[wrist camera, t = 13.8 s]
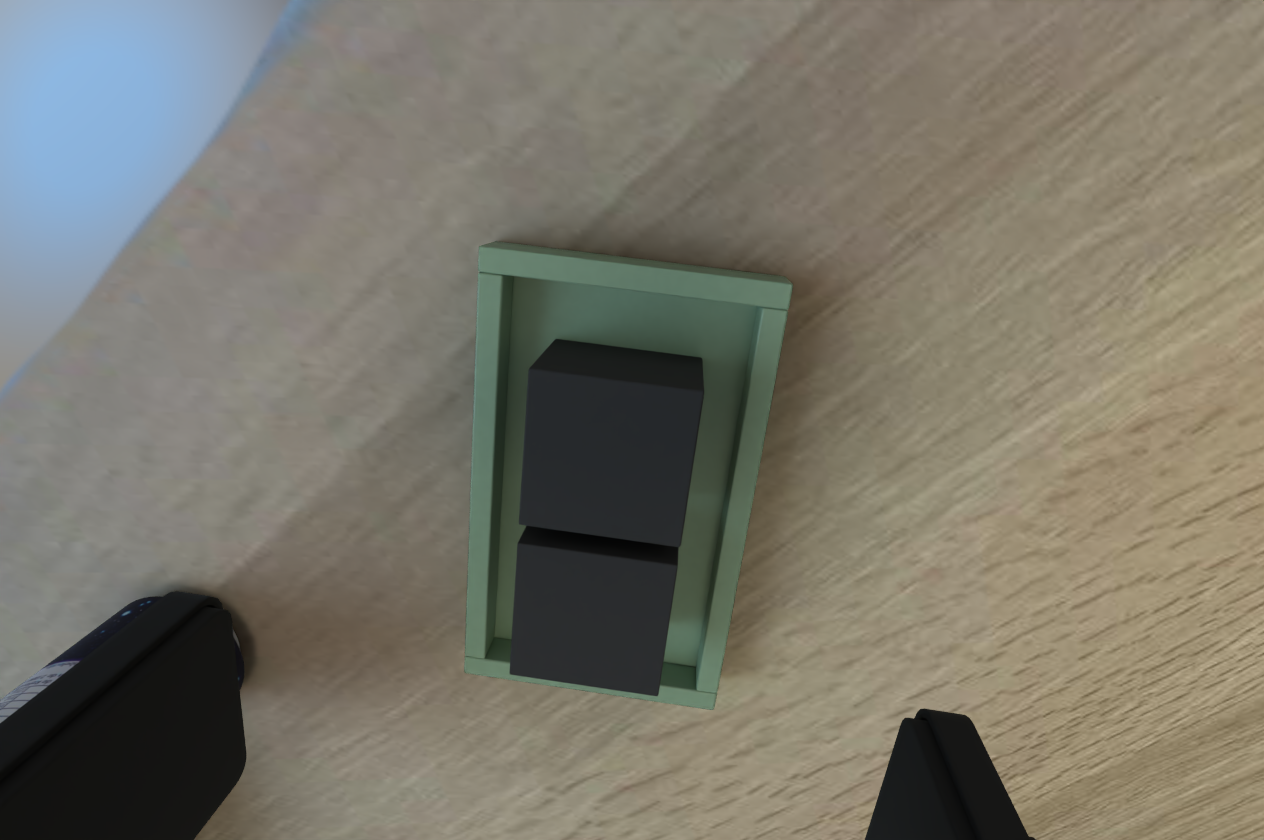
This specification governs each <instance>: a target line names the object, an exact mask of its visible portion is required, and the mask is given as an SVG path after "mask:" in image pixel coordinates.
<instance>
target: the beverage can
mask: <svg viewBox="0 0 1264 840" xmlns="http://www.w3.org/2000/svg"><path fill="white" fill-rule="evenodd" d="M160 598H162V597H147V598H142V599H139V600H136V601H134V602H132V603H130V604H128V605H127V606H126V607H124V608H123V609H122V610H120V611H119V612H118V613H116V614H115V615H113V616H112V617H111V618H109V619H108V620H107V621H105V622H104V623H103V624H101V625H100V626H99V627H97V628H96V629H95V630H93V631H92V632H91V633H89V634H88V635H87V636H85V637H84V638H83V639H81V640H80V641H79V642H77V643H76V644H75V645H73V646H72V647H71V648H69V649H68V650H67V651H65V652H64V653H63V654H61V655H60V656H59V657H57V658H56V659H55V660H53V661H52V662H51V663H49V664H48V665H47V666H45V667H44V668H42V669H41V670H40V671H38V672H37V673H36V674H34V675H33V676H32V677H30V678H29V679H28V680H26V681H25V682H24V683H22V684H21V685H20V686H18V687H17V688H16V689H14V690H13V691H12V692H10V693H9V694H8V695H6V696H5V697H4V698H2V699H1V700H0V723H1V722H2V721H4V720H5V719H6V718H8V717H9V716H10V715H11V714H13V713H14V712H15V711H17V710H18V709H19V708H20V707H22V706H23V705H24V704H26V703H27V702H28V701H29V700H31V699H32V698H33V697H35V696H36V695H37V694H38V693H40V692H41V691H42V690H44V689H45V688H46V687H47V686H49V685H50V684H51V683H53V682H54V681H55V680H56V679H58V678H59V677H60V676H62V675H63V674H64V673H65V672H67V671H68V670H69V669H71V668H72V667H73V666H74V665H76V664H77V663H78V662H79V661H81V660H82V659H83V658H85V657H86V656H87V655H88V654H90V653H91V652H92V651H94V650H95V649H96V648H97V647H99V646H100V645H101V644H103V643H104V642H105V641H106V640H108V639H109V638H110V637H112V636H113V635H114V634H115V633H117V632H118V631H119V630H121V629H122V628H123V627H124V626H126V625H127V624H128V623H130V622H131V621H132V620H133V619H135V618H136V617H137V616H139V615H140V614H141V613H142V612H144V611H145V610H146V609H148V608H149V607H150V606H151V605H153V604H154V603H155V602H157V601H158V600H159V599H160ZM233 636H234V645H235V654H236V664H237V673H238V682H239V690H240V688H241V686H242V683H243V679H244V662H243V657H242V654H241V651H240V645H239V641H238V638H237V636H236V634H235V632H234V630H233Z"/></svg>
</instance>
